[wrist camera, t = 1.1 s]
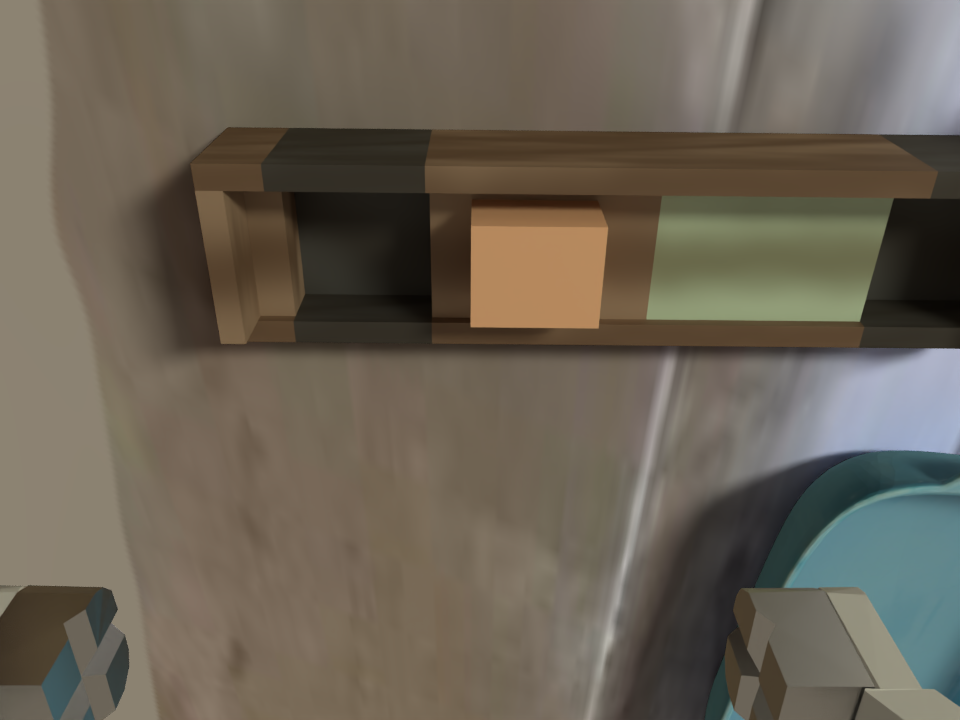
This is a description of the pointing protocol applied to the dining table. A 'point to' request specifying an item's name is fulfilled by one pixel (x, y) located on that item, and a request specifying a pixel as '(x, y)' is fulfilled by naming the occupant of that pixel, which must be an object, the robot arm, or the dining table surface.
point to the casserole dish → (880, 556)
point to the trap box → (630, 241)
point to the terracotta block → (537, 263)
